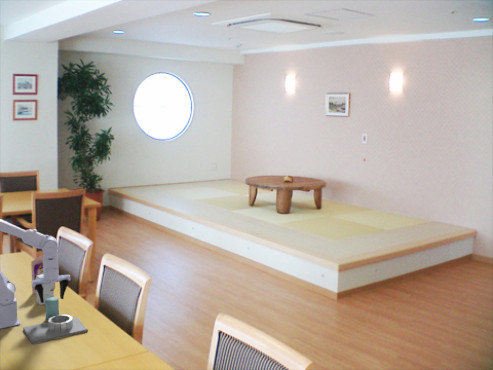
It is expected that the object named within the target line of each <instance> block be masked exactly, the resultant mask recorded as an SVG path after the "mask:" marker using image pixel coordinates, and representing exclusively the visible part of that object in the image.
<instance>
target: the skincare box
mask: <svg viewBox="0 0 493 370" xmlns="http://www.w3.org/2000/svg"><path fill="white" fill-rule="evenodd" d="M40 278H43V274H41V275H36V280H37V279H40ZM42 287H43V299H44V303H41V301H40V297H39V294H38V292H37V293H36V302H37V304H38V305H40V306H41V305H45V300H46V299H47V298H51V297H55V295H54V293H55V292H54V291H55V288H54V285H53V283H48V284H43V285H42Z"/></svg>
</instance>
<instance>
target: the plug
mask: <svg viewBox="0 0 493 370" xmlns="http://www.w3.org/2000/svg"><path fill="white" fill-rule="evenodd" d="M59 303H60V302H59V298H58V297H56V296H54V297H51V298H47V299H46V300H45V304H44V305H45V311H44V312H45V321H46V322H48V320H49V318H51V317H53V316H56V315H60V312H59V311H60V309H59V308H60V305H59Z"/></svg>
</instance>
